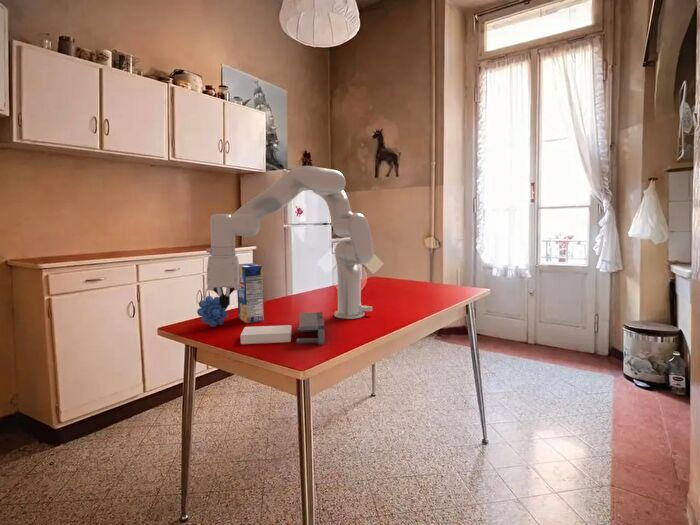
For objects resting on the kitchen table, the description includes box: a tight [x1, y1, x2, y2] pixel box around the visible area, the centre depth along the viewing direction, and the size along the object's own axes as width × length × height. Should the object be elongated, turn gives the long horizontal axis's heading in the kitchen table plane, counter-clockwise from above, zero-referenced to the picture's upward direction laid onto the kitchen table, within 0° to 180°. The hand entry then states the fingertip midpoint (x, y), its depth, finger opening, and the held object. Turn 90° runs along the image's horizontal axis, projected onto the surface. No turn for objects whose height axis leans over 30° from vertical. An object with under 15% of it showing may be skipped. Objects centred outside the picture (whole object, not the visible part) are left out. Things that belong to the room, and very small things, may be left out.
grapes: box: [196, 295, 229, 328], centre depth 147 cm, size 12×7×12 cm, turn 131°
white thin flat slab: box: [239, 324, 293, 345], centre depth 133 cm, size 16×10×3 cm, turn 96°
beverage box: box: [236, 262, 265, 324], centre depth 158 cm, size 7×11×22 cm, turn 33°
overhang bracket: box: [296, 311, 326, 346], centre depth 135 cm, size 9×18×6 cm, turn 6°
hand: (224, 307), depth 130 cm, fingers closed
